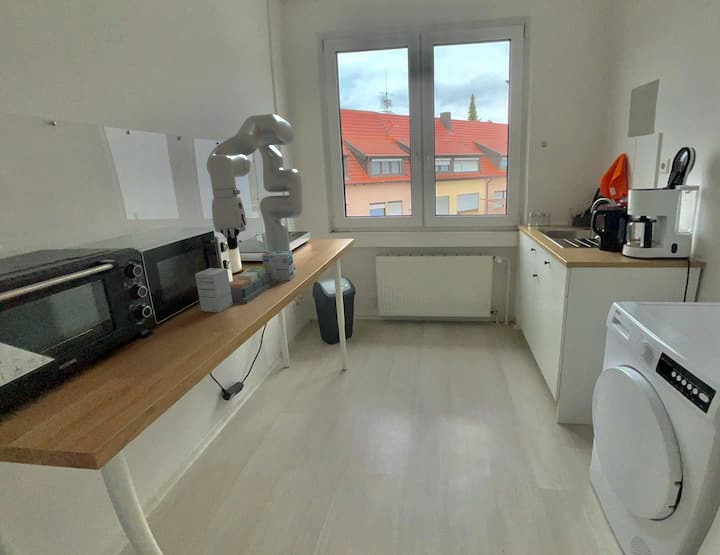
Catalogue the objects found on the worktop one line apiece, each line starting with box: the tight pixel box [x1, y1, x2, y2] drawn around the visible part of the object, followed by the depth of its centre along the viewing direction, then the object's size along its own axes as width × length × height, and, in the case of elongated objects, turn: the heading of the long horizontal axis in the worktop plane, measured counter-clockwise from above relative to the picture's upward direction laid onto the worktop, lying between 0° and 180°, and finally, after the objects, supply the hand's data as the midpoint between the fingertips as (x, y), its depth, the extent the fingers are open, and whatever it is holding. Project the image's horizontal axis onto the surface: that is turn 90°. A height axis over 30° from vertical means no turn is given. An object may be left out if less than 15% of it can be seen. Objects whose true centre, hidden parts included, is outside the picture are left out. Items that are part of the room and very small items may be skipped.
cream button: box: [237, 271, 258, 283], centre depth 153 cm, size 5×5×4 cm
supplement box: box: [194, 267, 234, 313], centre depth 138 cm, size 7×7×13 cm
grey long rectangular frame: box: [230, 273, 277, 304], centre depth 154 cm, size 24×10×4 cm, turn 167°
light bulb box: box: [261, 250, 296, 282], centre depth 169 cm, size 11×7×11 cm, turn 84°
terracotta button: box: [230, 279, 249, 289], centre depth 147 cm, size 5×5×4 cm
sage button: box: [246, 267, 266, 278], centre depth 160 cm, size 5×5×4 cm
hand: (233, 248), depth 145 cm, fingers closed
